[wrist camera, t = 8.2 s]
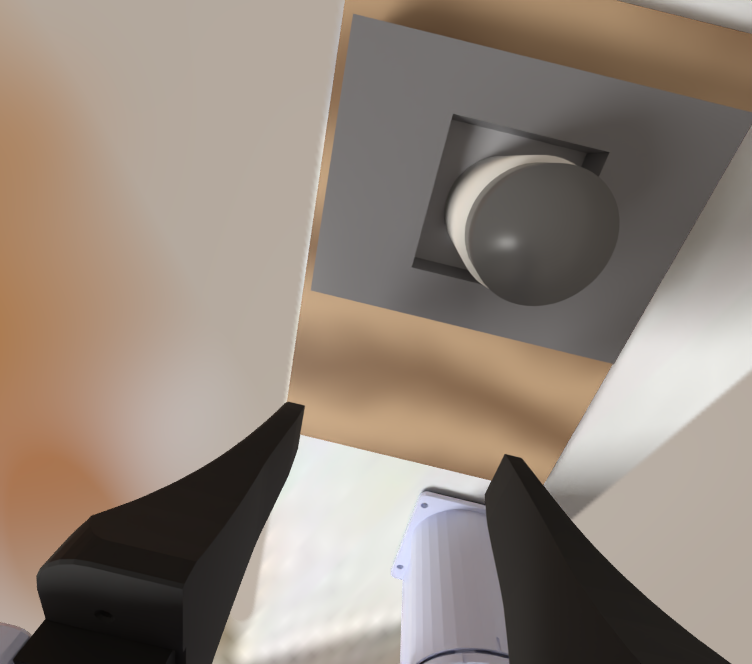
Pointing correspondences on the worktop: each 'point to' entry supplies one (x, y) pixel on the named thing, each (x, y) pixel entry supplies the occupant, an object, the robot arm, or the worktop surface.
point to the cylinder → (532, 226)
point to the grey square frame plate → (505, 138)
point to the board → (465, 346)
